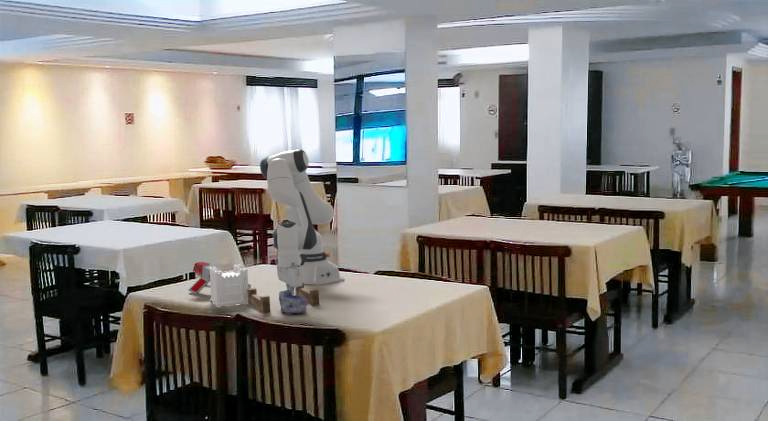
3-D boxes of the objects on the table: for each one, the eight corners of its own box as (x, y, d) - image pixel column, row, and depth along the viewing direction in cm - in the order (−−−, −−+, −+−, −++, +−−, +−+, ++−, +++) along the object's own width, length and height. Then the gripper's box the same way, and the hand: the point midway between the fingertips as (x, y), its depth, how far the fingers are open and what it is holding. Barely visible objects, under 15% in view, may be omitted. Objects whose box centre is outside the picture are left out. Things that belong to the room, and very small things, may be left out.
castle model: (217, 307, 328) (215, 272, 326) (210, 301, 341) (208, 267, 339) (250, 303, 333) (248, 269, 332) (242, 297, 346) (240, 264, 345)
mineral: (274, 289, 317) (297, 285, 321) (276, 311, 319) (299, 306, 323) (285, 300, 304) (309, 295, 308) (287, 322, 306) (311, 317, 311)
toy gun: (235, 316, 348) (244, 286, 345) (185, 291, 356) (193, 261, 353) (243, 313, 355) (252, 283, 351) (193, 288, 363) (202, 259, 359)
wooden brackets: (302, 296, 344) (302, 282, 343) (319, 304, 326) (319, 289, 325) (248, 303, 333) (247, 288, 332) (262, 313, 315) (262, 297, 315)
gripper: (305, 264, 312) (307, 297, 313) (288, 257, 330) (289, 289, 332) (290, 265, 309) (292, 300, 311) (273, 258, 327) (275, 291, 329)
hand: (290, 294), depth 321 cm, fingers closed
